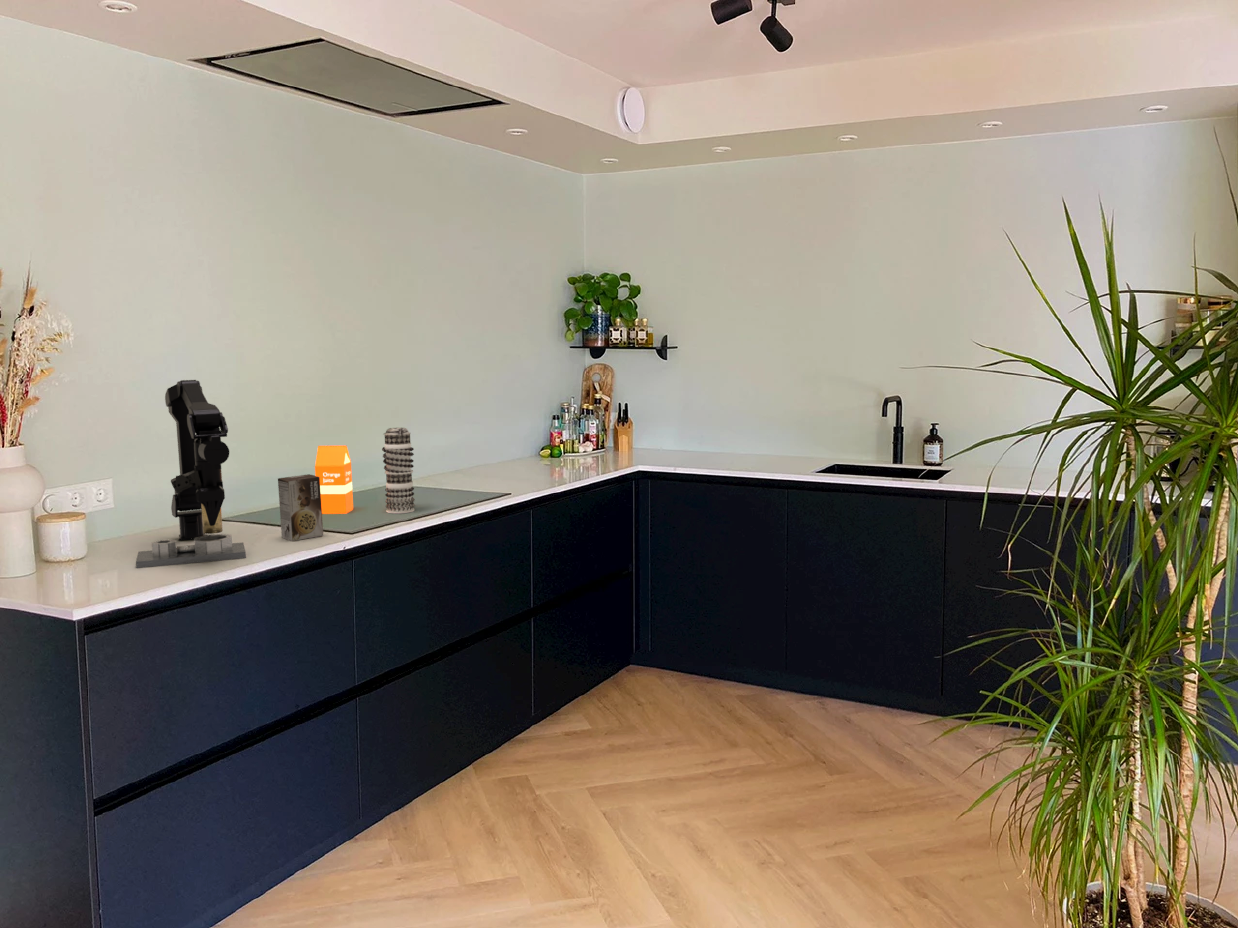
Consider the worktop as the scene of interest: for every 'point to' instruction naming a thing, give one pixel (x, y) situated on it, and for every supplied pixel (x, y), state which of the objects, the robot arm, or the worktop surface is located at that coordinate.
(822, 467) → the worktop surface
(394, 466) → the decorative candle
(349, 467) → the orange juice
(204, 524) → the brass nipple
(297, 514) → the coffee box
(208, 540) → the manifold
